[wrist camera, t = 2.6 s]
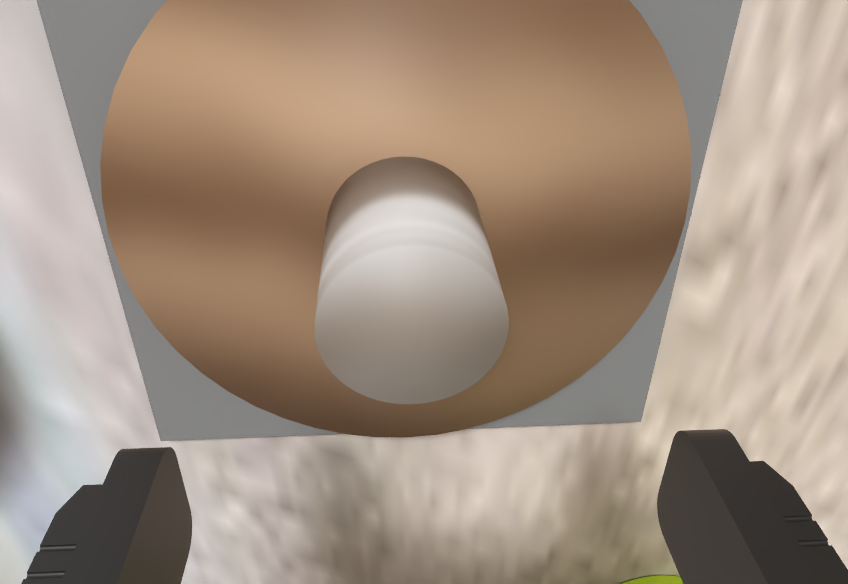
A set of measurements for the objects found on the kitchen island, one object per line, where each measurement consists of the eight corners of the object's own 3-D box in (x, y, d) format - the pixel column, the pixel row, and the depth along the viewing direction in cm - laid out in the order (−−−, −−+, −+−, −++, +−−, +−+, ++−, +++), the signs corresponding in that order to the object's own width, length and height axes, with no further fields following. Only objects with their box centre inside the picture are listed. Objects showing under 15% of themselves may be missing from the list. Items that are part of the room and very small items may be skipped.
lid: (32, -106, 14) (-123, -82, 10) (744, -105, 15) (901, -82, 11) (173, 428, 22) (124, 574, 18) (628, 410, 23) (689, 545, 19)
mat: (9, -136, 14) (-2, -135, 14) (763, -132, 15) (773, -131, 15) (164, 429, 23) (160, 440, 23) (636, 411, 24) (641, 421, 23)
